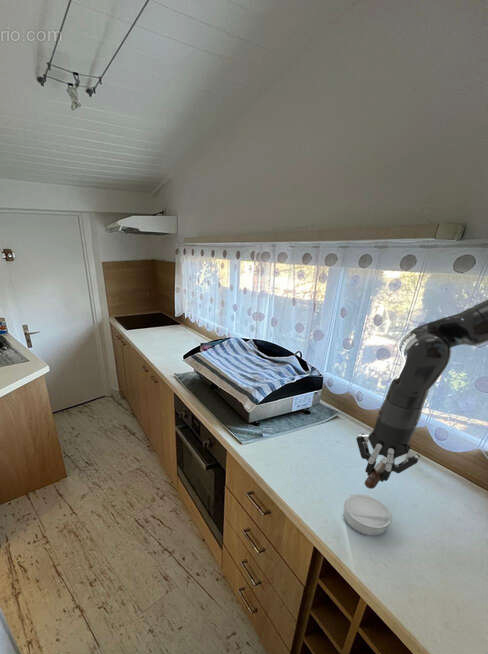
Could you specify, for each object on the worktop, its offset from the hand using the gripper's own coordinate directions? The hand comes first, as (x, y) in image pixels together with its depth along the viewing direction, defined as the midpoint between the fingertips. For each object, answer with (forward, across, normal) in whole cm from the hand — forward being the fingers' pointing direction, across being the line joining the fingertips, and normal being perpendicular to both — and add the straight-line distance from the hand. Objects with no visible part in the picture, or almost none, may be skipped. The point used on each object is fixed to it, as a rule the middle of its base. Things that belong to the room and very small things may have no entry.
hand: (375, 476), depth 77 cm
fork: (0, 0, -3) cm, 3 cm away
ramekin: (+15, -1, +1) cm, 15 cm away
